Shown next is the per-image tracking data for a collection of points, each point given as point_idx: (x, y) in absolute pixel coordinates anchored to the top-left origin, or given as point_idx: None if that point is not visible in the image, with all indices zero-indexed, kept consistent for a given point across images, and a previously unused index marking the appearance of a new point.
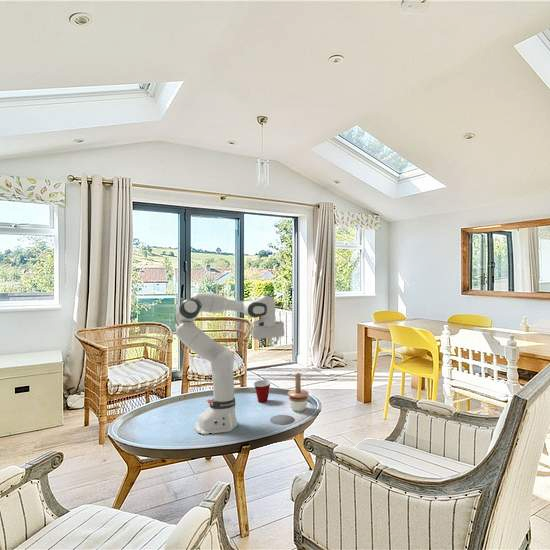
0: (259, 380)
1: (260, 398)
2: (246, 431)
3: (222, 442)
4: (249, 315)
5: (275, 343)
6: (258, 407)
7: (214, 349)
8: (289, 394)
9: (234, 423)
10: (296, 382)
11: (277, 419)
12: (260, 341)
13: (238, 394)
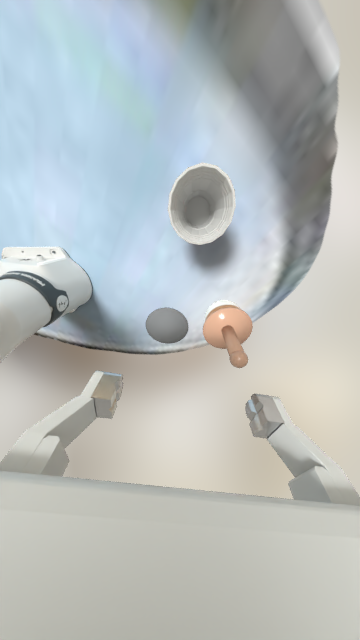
0: (212, 166)
1: (185, 220)
2: (97, 324)
3: (55, 332)
4: None
5: (250, 418)
6: (164, 245)
7: None
8: (204, 327)
9: (79, 305)
10: (227, 348)
11: (160, 321)
12: (67, 441)
13: (171, 53)
